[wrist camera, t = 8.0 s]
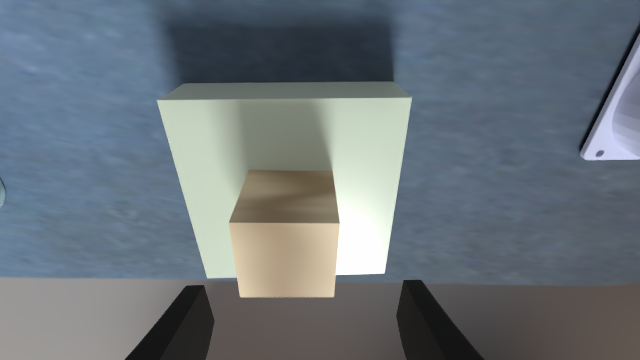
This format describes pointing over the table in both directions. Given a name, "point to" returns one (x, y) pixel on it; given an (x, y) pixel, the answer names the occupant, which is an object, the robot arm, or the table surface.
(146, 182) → the table surface
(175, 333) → the robot arm
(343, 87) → the green box
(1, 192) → the cup
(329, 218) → the birch block
